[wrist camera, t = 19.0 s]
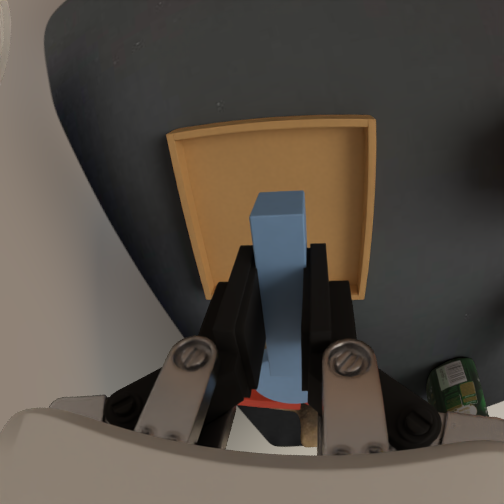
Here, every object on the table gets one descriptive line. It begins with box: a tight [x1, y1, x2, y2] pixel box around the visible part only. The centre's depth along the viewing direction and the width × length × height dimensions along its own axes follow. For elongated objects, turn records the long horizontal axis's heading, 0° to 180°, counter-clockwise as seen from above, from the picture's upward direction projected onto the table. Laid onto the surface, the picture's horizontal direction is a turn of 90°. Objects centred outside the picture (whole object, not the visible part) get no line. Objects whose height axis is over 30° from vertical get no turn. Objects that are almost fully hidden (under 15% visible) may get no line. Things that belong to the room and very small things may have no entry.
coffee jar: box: [426, 358, 489, 417], centre depth 28 cm, size 10×8×19 cm
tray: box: [166, 115, 376, 300], centre depth 25 cm, size 15×16×2 cm
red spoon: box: [238, 389, 309, 410], centre depth 29 cm, size 11×4×2 cm, turn 94°
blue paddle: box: [249, 190, 308, 404], centre depth 12 cm, size 11×4×2 cm, turn 7°
